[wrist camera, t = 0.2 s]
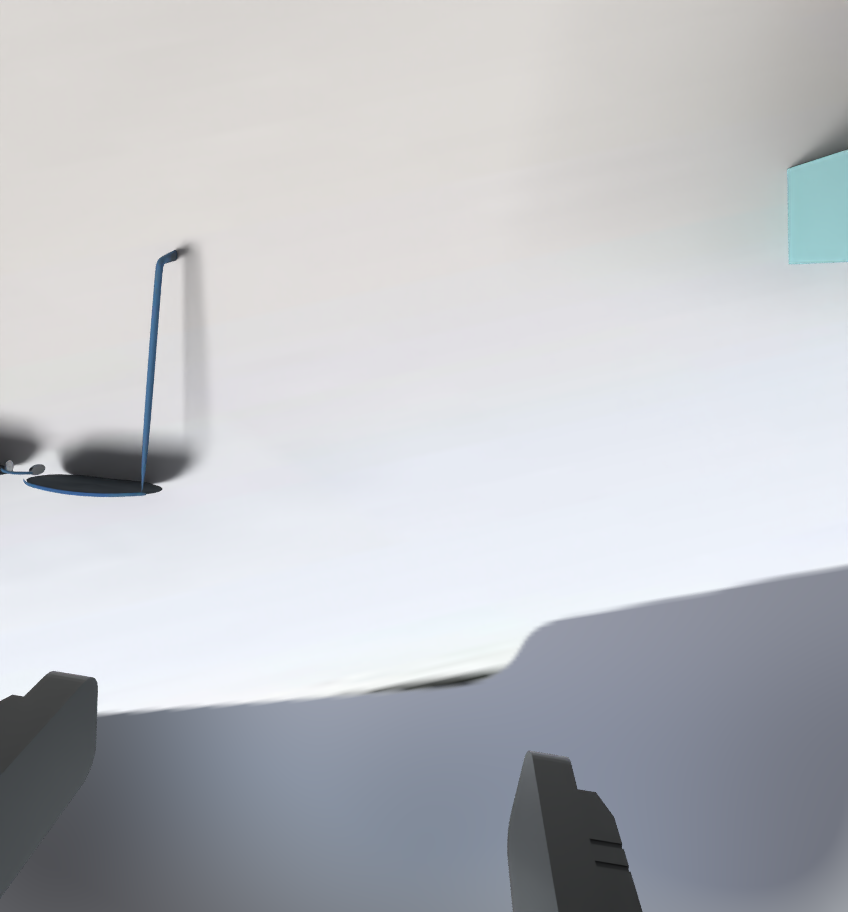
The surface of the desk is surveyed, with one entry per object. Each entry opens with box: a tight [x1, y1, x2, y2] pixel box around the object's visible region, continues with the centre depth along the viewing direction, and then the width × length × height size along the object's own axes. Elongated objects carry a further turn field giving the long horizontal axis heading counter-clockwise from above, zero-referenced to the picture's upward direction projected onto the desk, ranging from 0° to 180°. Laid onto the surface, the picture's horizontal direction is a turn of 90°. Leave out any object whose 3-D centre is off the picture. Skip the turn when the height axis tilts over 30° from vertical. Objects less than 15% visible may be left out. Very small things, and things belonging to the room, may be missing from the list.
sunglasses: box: [0, 250, 177, 497], centre depth 39 cm, size 17×15×5 cm
